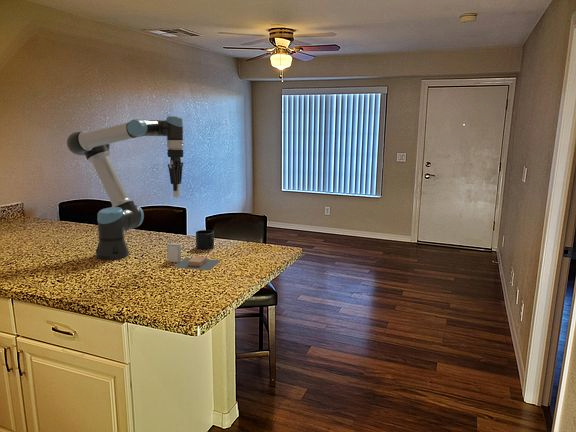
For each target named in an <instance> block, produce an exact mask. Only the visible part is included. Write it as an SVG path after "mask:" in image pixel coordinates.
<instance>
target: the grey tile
mask: <svg viewBox="0 0 576 432" xmlns="http://www.w3.org/2000/svg"><path fill="white" fill-rule="evenodd" d="M181 246H182V245H181V244H180V243H171V242H170V243H167V244H166V248H167V249H166V253H167V262H170V263H171V262H172V263H179V262H181V261H182V247H181Z"/></svg>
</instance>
